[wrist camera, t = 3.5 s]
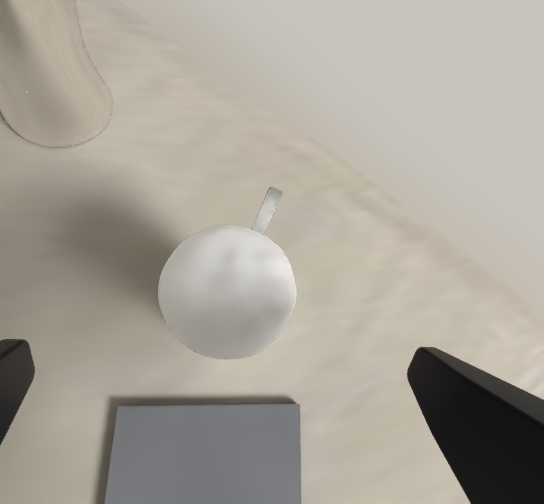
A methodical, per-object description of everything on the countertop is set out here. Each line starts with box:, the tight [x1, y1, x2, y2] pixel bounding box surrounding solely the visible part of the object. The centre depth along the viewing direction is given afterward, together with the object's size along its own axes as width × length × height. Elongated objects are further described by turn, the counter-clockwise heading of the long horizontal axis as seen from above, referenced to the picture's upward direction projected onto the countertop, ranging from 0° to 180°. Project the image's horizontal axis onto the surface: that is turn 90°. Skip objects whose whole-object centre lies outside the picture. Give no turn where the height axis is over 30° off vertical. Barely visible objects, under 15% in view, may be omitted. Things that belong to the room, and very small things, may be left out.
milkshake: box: [158, 187, 297, 359], centre depth 14 cm, size 4×5×10 cm
